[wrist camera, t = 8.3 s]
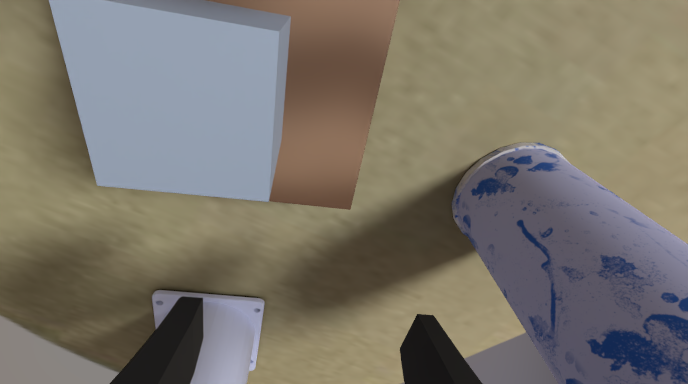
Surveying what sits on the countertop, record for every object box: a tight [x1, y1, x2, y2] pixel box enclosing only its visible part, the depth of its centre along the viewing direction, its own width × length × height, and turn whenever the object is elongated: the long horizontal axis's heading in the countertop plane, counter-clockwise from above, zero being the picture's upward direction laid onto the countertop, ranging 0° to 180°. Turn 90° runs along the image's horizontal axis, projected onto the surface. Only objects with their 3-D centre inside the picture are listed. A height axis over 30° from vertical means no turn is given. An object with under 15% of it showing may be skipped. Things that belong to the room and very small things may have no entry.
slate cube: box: [49, 0, 291, 202], centre depth 11 cm, size 5×5×5 cm
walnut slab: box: [206, 0, 400, 210], centre depth 15 cm, size 12×12×4 cm
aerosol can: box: [452, 143, 688, 384], centre depth 13 cm, size 8×8×20 cm
